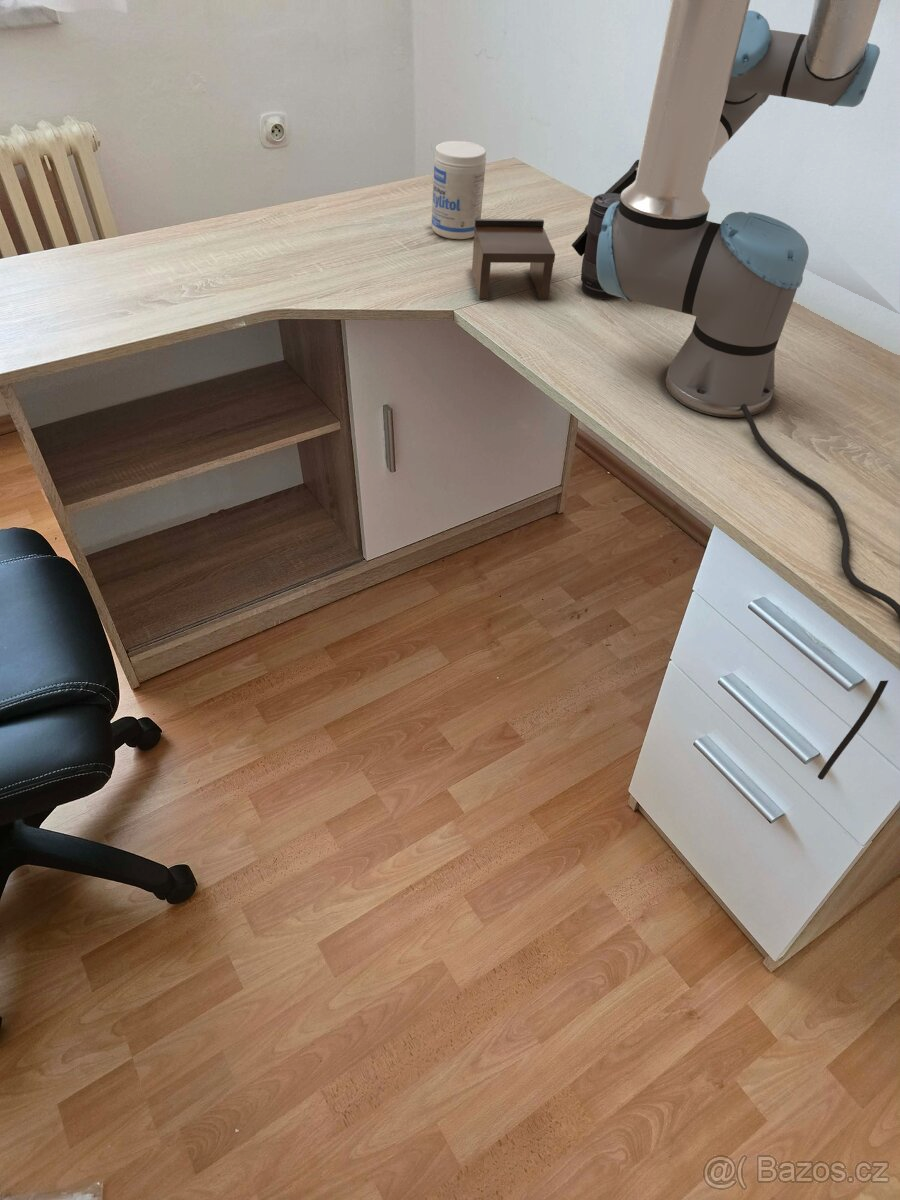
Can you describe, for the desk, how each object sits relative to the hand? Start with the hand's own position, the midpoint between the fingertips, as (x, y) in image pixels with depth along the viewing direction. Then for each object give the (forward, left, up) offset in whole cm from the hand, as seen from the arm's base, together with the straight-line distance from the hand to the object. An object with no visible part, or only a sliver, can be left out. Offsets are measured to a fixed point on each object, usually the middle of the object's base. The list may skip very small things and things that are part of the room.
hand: (590, 261), depth 133 cm
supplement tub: (+27, +20, -6) cm, 34 cm away
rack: (+3, +13, -6) cm, 14 cm away
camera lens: (+1, -3, -6) cm, 7 cm away
